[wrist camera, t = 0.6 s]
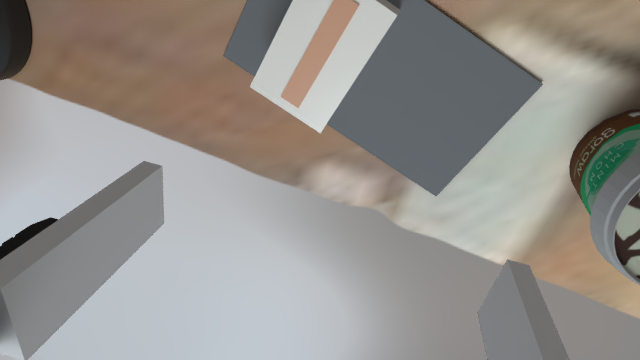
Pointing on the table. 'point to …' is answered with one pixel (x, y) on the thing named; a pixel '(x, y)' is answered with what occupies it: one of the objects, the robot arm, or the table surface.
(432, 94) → the mat
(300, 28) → the white rectangular block
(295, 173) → the table surface
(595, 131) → the food container
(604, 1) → the table surface
